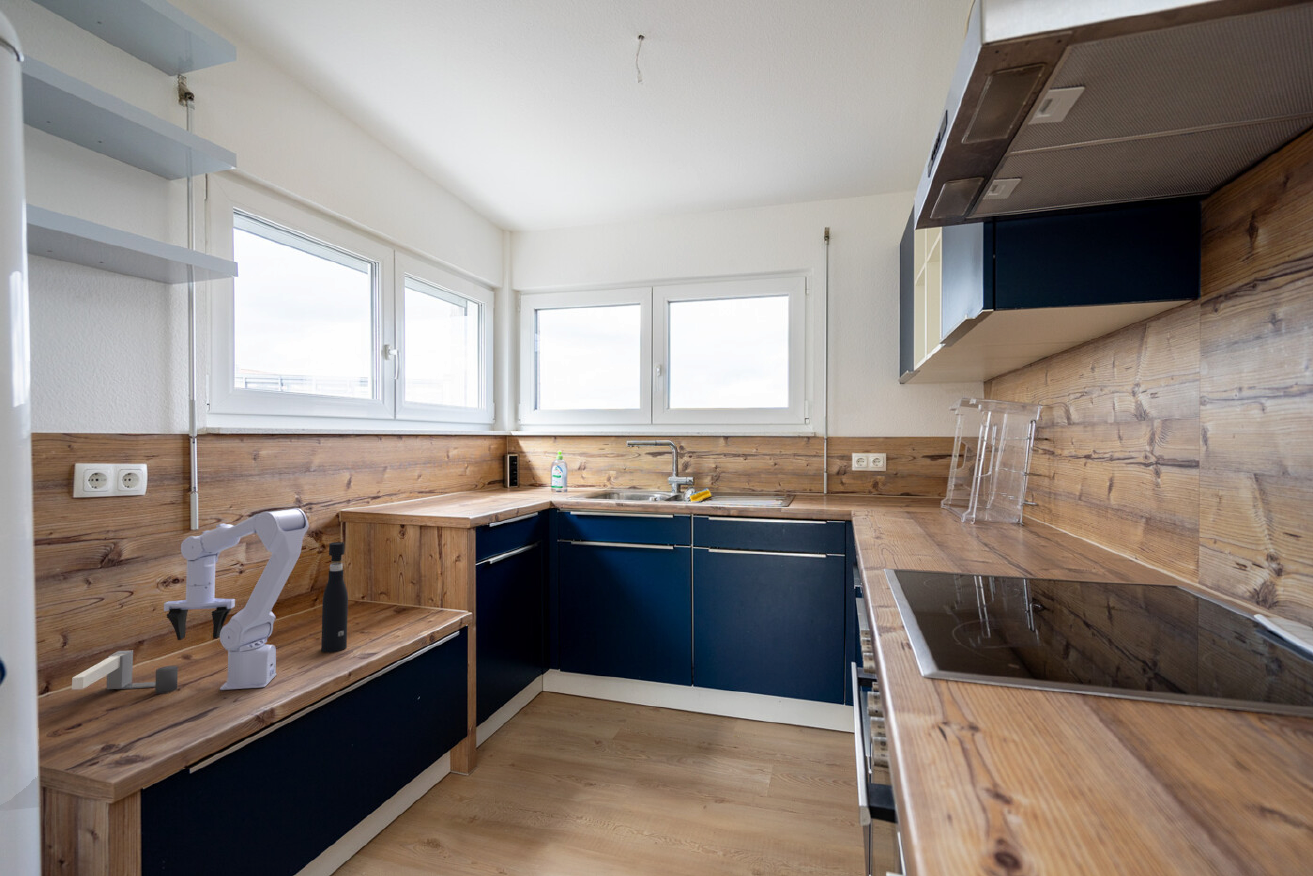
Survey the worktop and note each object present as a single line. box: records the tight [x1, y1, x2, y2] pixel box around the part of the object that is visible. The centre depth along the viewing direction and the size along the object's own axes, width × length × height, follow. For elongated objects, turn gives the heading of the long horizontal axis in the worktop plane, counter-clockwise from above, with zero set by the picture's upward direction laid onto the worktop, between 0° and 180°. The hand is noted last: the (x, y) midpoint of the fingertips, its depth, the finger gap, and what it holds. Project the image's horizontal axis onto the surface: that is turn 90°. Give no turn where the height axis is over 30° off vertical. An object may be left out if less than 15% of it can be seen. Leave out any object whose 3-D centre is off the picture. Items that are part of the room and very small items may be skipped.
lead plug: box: [154, 665, 179, 695], centre depth 140 cm, size 4×4×5 cm
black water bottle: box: [320, 541, 349, 653], centre depth 170 cm, size 6×6×30 cm
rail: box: [116, 681, 156, 690], centre depth 142 cm, size 11×2×1 cm, turn 104°
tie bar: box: [71, 649, 134, 690], centre depth 135 cm, size 3×16×8 cm, turn 14°
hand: (199, 638), depth 149 cm, fingers open, 7 cm apart
